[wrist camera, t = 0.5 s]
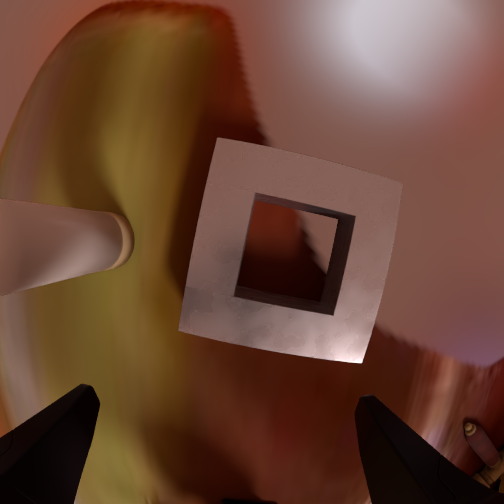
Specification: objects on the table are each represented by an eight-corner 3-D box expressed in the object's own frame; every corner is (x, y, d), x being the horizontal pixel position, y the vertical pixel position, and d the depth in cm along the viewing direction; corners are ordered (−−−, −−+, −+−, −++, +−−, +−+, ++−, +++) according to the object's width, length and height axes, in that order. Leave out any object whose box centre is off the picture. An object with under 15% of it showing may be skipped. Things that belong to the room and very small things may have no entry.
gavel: (444, 464, 20) (504, 400, 19) (429, 445, 24) (484, 386, 24) (483, 498, 19) (527, 452, 18) (472, 484, 24) (513, 441, 23)
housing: (345, 343, 22) (361, 363, 18) (191, 314, 22) (178, 330, 18) (379, 191, 21) (402, 183, 17) (224, 154, 21) (217, 137, 17)
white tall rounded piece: (129, 273, 22) (21, 309, 9) (85, 261, 22) (-29, 282, 9) (139, 217, 21) (29, 203, 9) (93, 208, 21) (-21, 193, 9)
